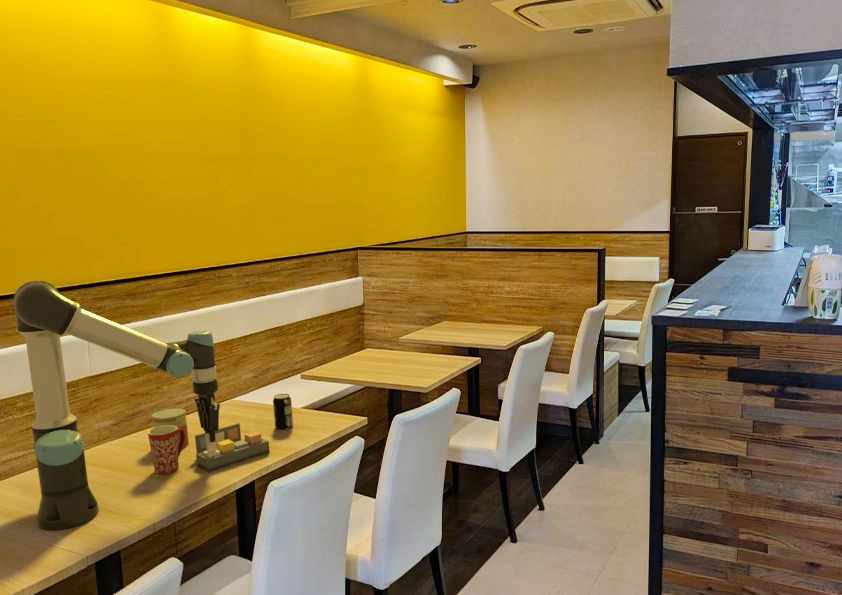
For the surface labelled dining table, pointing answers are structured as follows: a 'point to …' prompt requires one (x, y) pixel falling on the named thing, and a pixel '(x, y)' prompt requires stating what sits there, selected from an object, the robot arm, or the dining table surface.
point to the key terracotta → (253, 437)
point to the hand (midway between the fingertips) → (211, 450)
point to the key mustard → (225, 446)
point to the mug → (165, 447)
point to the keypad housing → (232, 456)
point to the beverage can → (283, 411)
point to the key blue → (240, 444)
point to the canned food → (172, 421)
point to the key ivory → (211, 453)
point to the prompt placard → (219, 436)
